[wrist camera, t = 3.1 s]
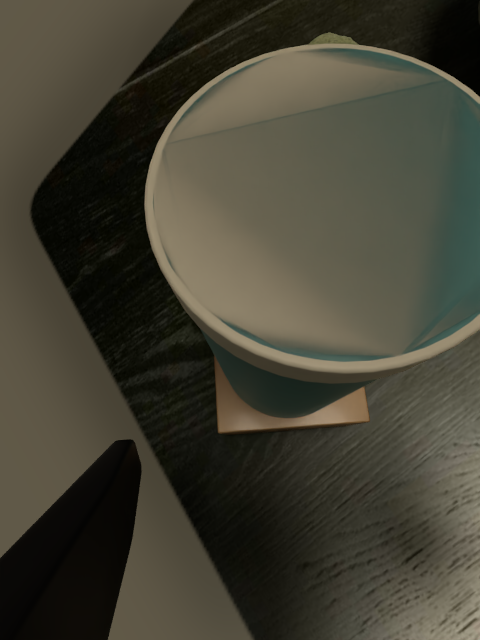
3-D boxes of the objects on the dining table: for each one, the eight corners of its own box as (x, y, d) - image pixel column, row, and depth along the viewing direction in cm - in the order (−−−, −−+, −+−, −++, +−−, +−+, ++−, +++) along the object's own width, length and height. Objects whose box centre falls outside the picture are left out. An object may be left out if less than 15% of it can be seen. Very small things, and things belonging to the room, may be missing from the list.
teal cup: (356, 422, 16) (584, 378, 5) (217, 418, 17) (120, 368, 5) (348, 293, 18) (498, 36, 7) (223, 291, 18) (162, 46, 7)
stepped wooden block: (354, 425, 21) (419, 414, 12) (218, 435, 21) (189, 432, 13) (333, 295, 23) (376, 210, 15) (211, 305, 24) (183, 228, 15)
